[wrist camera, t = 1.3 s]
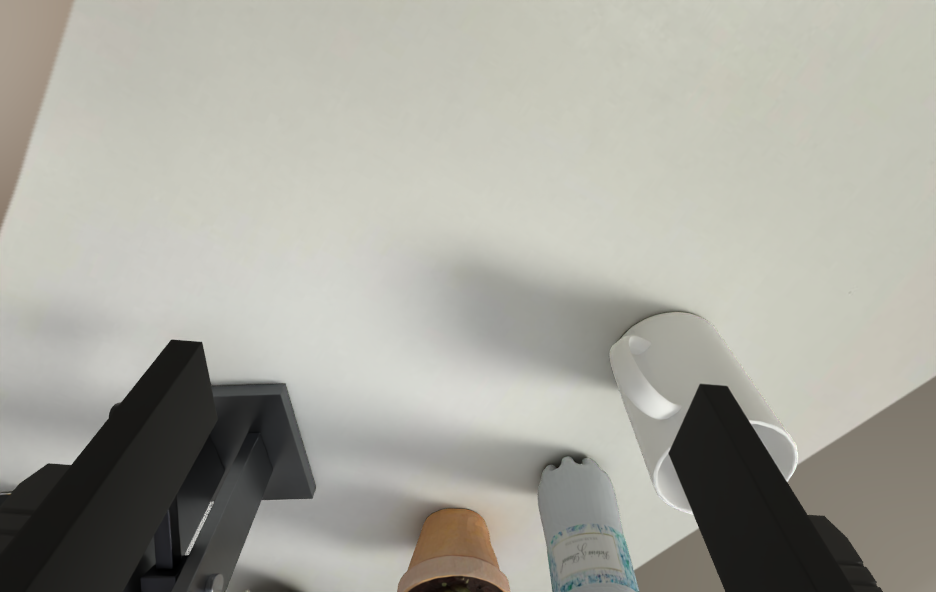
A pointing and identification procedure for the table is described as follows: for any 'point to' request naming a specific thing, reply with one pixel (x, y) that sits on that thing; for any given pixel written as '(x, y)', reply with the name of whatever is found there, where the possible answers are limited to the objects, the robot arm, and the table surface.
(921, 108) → the table surface
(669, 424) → the mug
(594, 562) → the bottle
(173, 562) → the lever
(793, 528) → the robot arm
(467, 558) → the potted plant
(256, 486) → the lever stand
